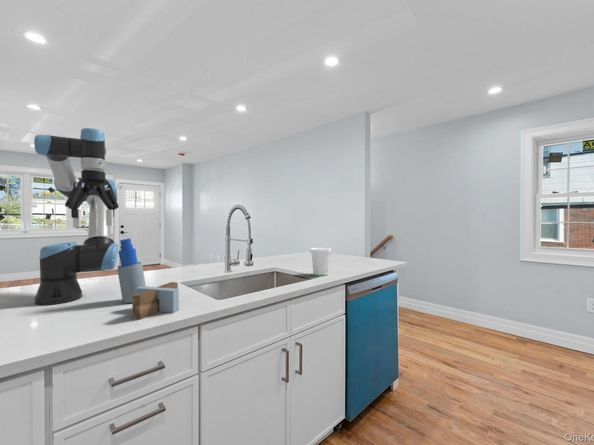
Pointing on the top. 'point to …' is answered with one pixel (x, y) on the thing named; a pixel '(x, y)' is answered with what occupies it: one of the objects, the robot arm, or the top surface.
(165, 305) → the slotted plate
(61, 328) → the top surface
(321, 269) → the cup
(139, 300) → the slotted stand
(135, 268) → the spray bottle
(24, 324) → the top surface
